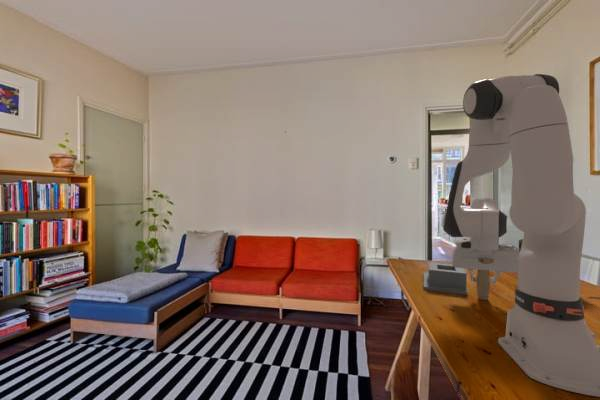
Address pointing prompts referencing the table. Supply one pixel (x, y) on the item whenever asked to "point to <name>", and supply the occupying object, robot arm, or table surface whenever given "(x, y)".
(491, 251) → the robot arm
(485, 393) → the table surface
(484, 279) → the handle
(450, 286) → the socket block
